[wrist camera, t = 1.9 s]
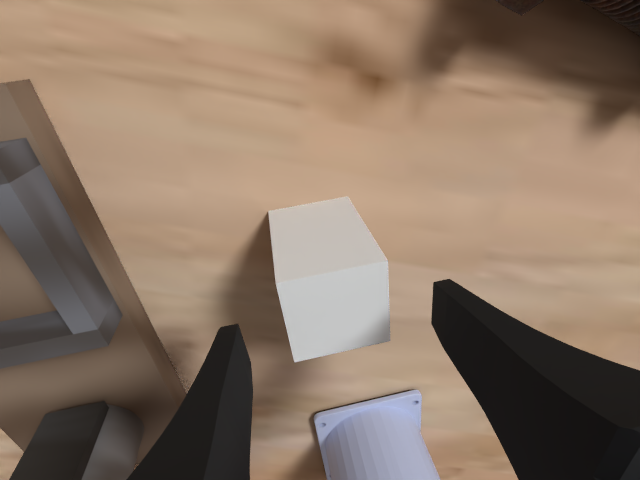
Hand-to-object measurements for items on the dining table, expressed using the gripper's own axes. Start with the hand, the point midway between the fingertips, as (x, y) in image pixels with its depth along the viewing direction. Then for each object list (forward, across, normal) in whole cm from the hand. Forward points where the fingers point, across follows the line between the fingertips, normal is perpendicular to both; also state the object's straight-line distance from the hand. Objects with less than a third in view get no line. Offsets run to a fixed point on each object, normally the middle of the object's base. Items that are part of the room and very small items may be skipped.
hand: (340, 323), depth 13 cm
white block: (+6, 0, 0) cm, 7 cm away
